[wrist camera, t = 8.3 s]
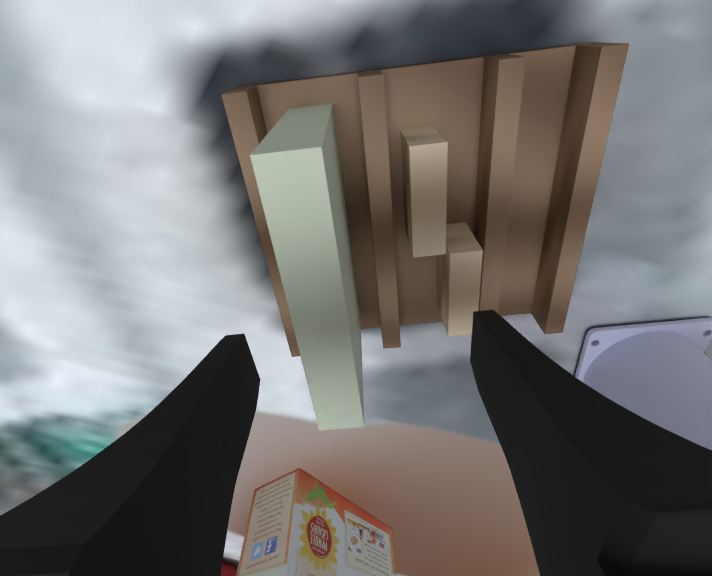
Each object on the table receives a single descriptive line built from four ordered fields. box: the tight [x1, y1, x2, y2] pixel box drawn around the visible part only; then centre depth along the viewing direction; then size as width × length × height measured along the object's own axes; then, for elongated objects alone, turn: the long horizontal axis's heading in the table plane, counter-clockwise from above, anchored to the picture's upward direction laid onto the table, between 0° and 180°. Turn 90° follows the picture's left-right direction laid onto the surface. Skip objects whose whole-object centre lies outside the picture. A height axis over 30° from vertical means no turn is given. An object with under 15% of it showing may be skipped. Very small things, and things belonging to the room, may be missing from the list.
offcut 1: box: [401, 126, 448, 258], centre depth 18 cm, size 5×2×3 cm, turn 6°
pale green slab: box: [250, 103, 364, 430], centre depth 17 cm, size 12×2×8 cm, turn 6°
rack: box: [222, 42, 629, 357], centre depth 20 cm, size 14×16×3 cm
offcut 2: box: [437, 222, 483, 337], centre depth 21 cm, size 5×2×3 cm, turn 6°
